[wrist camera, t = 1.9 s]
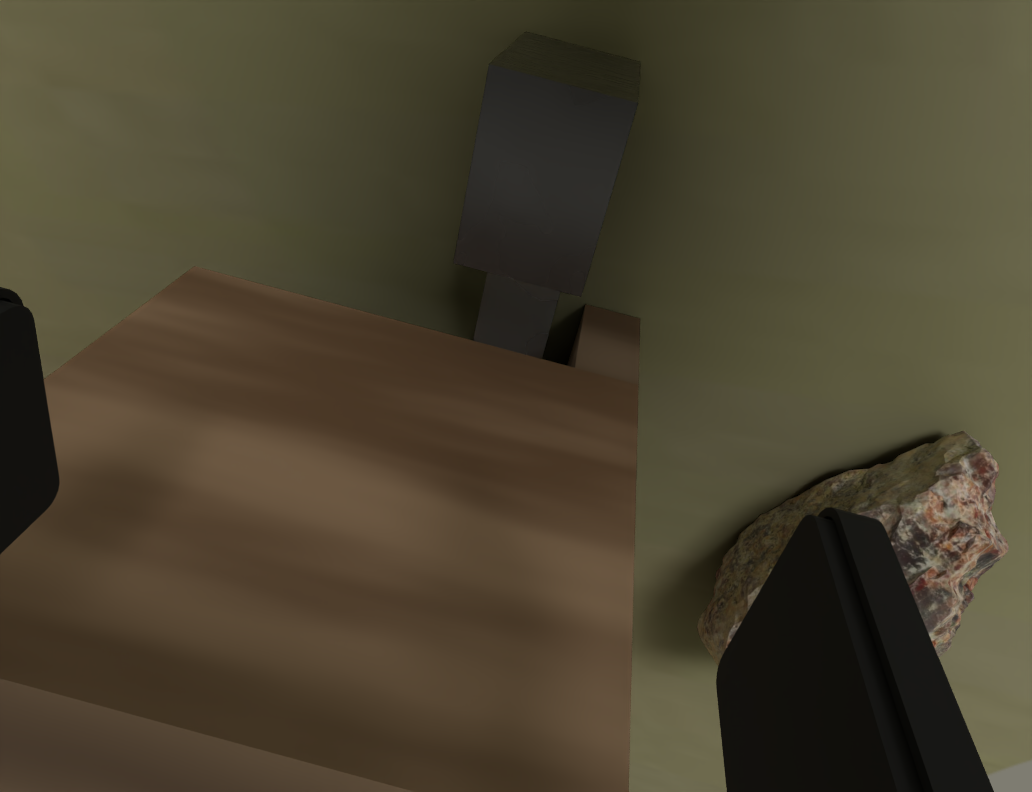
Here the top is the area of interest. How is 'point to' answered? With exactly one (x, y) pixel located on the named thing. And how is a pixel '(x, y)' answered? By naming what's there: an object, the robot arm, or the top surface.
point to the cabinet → (325, 557)
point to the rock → (908, 522)
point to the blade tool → (542, 181)
